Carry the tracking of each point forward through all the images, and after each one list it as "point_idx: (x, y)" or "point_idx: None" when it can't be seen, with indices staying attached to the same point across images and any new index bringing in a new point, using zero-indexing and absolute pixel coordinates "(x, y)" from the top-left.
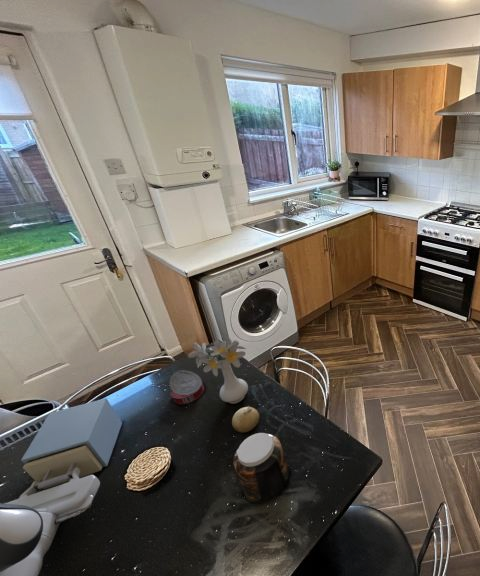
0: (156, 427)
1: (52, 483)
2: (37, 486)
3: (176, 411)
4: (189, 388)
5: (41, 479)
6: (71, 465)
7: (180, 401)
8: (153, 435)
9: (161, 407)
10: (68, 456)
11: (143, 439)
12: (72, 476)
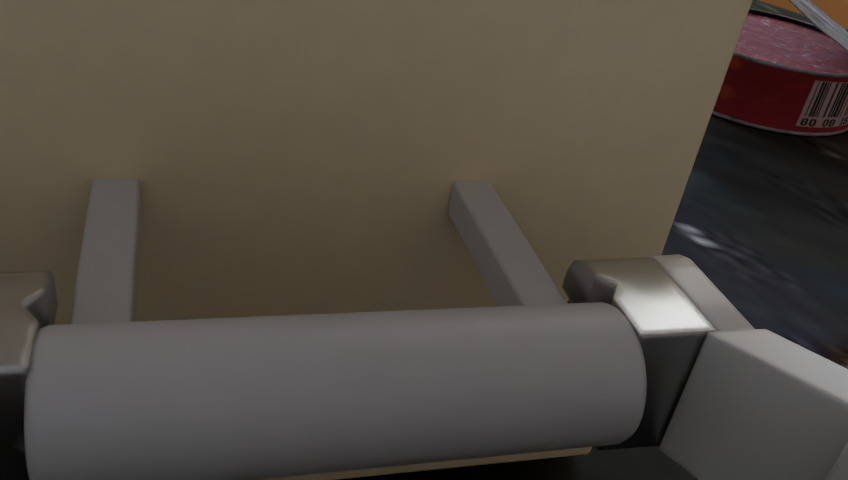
0: (742, 217)
1: (359, 433)
2: (5, 412)
3: (784, 160)
4: (835, 32)
5: (54, 283)
6: (493, 212)
7: (784, 103)
8: (785, 265)
9: None
10: (506, 15)
11: (723, 273)
12: (809, 383)
